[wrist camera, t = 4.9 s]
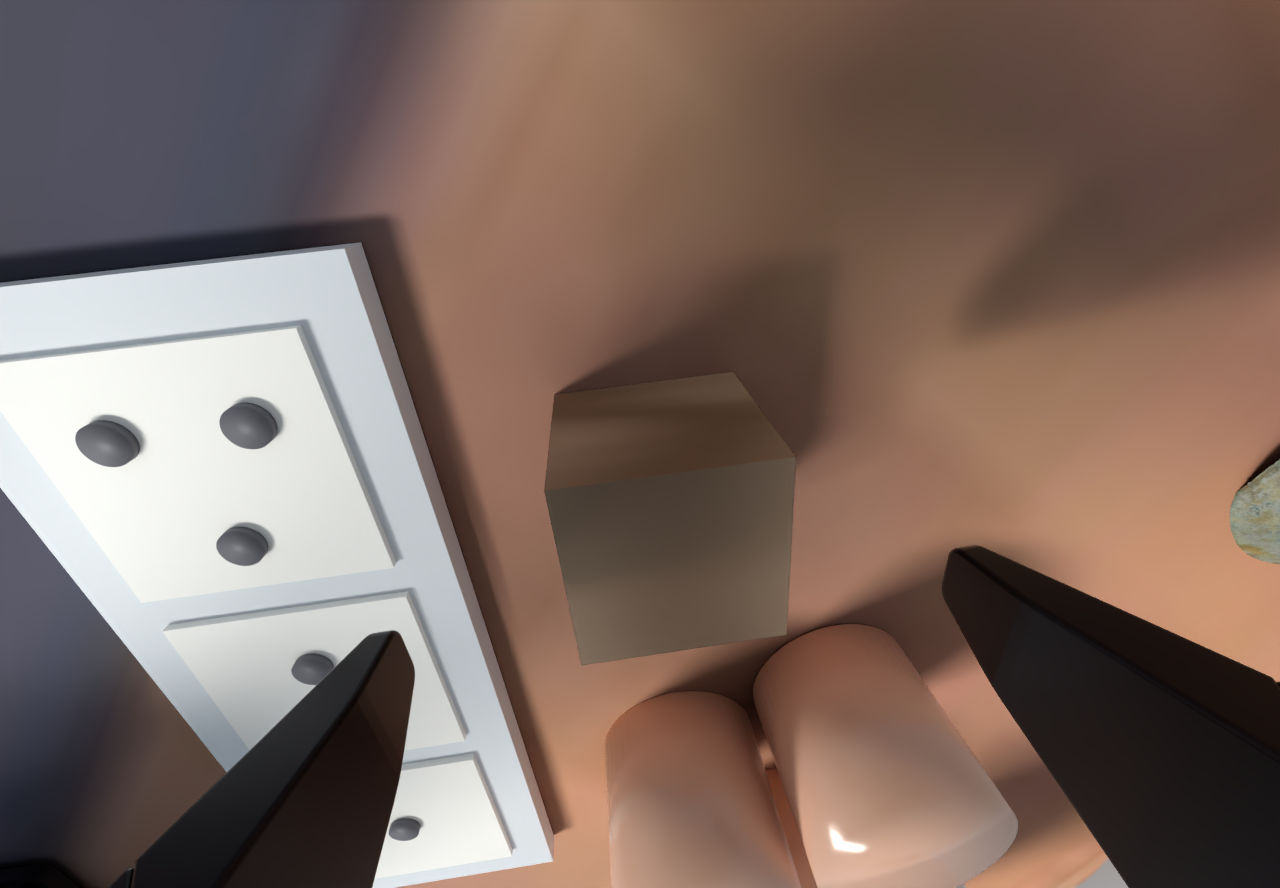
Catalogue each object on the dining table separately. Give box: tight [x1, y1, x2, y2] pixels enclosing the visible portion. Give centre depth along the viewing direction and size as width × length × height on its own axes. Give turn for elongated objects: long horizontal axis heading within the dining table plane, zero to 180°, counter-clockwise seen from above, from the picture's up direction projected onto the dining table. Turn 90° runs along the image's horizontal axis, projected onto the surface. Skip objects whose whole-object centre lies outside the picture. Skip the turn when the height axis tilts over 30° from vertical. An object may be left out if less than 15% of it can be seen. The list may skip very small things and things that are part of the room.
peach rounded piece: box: [766, 769, 818, 888], centre depth 18 cm, size 5×5×5 cm
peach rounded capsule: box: [605, 691, 801, 888], centre depth 16 cm, size 5×5×5 cm
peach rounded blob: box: [753, 624, 1018, 888], centre depth 15 cm, size 5×5×5 cm
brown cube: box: [544, 372, 796, 665], centre depth 11 cm, size 4×4×4 cm
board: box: [0, 242, 554, 888], centre depth 14 cm, size 8×21×1 cm, turn 5°
